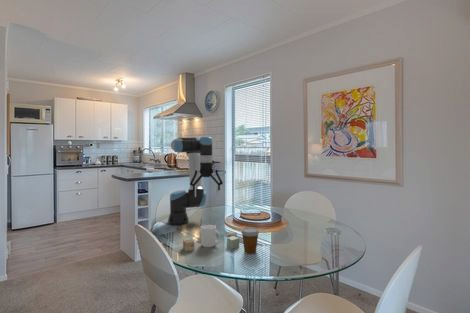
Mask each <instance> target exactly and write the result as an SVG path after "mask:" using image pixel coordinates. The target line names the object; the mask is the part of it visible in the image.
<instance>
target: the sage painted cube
mask: <svg viewBox="0 0 470 313" xmlns="http://www.w3.org/2000/svg"><path fill="white" fill-rule="evenodd" d="M226 247H227V248H229V249H231V250H234V249H236V248H239V247H240V237H238V236H237V237H235V236H231V237H228V236H227V237H226Z"/></svg>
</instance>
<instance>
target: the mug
mask: <svg viewBox="0 0 470 313" xmlns="http://www.w3.org/2000/svg"><path fill="white" fill-rule="evenodd" d="M200 229H201V230H200V232H201V233H200V237H201V238H200V239H201V246H202V247H203V248H214V247H215V246H217V244H219V243H220V242H221V239H222V238H221V233H220V232H219V231H218V230H217V226H216V225H215V224H205V225H201V228H200ZM217 235H218V237H219V240H217Z"/></svg>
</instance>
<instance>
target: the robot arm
mask: <svg viewBox="0 0 470 313" xmlns="http://www.w3.org/2000/svg"><path fill="white" fill-rule="evenodd" d="M170 148H171V149H172V150H173V151H174V152H175V153H186V156H187V157H188V171H189V173H188V174H189V188H188V191H186V190H185V189H184V190H181V189H180V190H176V191H173V192H171V193H170V195H169V201H170V202H169V203H170V204H169V205H170V206H169V207H170V208H169V209H170V210H169V216H168V220H167V223H169V224H168V225H170V224H172V225H171V226H183V225H187V224H188V223H189V220H190V219H189V216H188V214H187V209H190V208H201V207H204V206H205V205H206V201H207V192H206V191H205V190H204V188H203V187H202V178H211V179H213V181H214V183H216V196H217V197H219V191H220V190H221V185H223V184H224V183H223V180H222V179H221V177H220V174H219V173H218V172H219V171H218V169H213V138H212V137H210V136H201V137H196V136H195V137H177V138H174V139H173V140H172V141H171V142H170ZM213 174H215V175H216V177H217V179H218V180H217V179H216V178H215V177H214V175H213Z"/></svg>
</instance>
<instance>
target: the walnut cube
mask: <svg viewBox="0 0 470 313" xmlns="http://www.w3.org/2000/svg"><path fill="white" fill-rule="evenodd" d="M231 236H235V237H238V233H237V232H236V231H235V232H234V231H233V232H228V236H227V238H228V237H231Z"/></svg>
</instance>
